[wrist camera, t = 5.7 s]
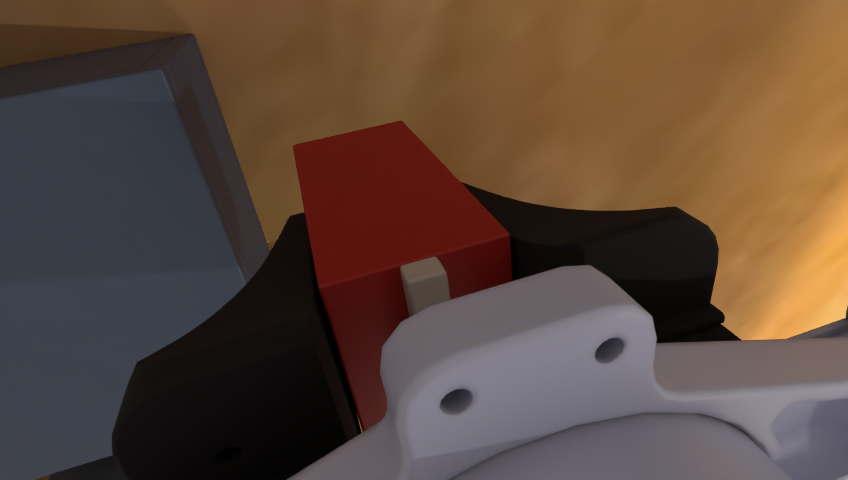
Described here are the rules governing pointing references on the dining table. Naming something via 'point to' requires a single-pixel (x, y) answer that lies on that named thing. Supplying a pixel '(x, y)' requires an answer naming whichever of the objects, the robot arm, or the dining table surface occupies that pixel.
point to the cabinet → (108, 237)
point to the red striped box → (390, 243)
